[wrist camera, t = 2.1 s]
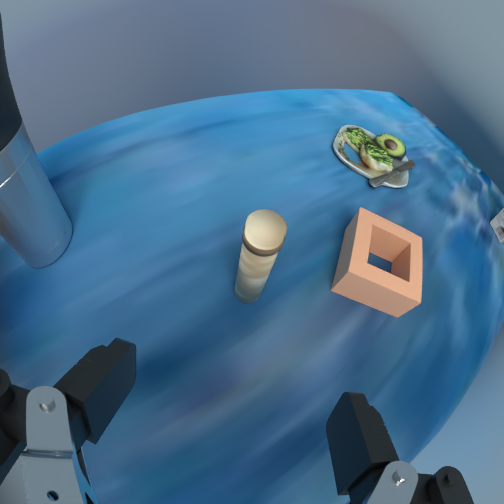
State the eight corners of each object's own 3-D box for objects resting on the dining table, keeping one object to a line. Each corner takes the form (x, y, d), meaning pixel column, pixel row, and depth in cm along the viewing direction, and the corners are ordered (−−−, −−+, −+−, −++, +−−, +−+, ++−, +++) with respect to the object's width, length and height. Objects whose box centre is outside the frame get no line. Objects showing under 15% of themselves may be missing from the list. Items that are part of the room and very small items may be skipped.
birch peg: (228, 297, 29) (237, 233, 19) (240, 273, 31) (254, 202, 21) (255, 308, 29) (280, 250, 19) (266, 284, 30) (293, 218, 20)
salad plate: (407, 215, 41) (421, 198, 37) (317, 165, 43) (325, 144, 39) (411, 162, 50) (420, 148, 47) (343, 124, 53) (349, 108, 49)
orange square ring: (330, 290, 31) (348, 271, 27) (345, 229, 36) (359, 206, 32) (397, 317, 30) (420, 303, 26) (403, 256, 35) (421, 237, 31)
